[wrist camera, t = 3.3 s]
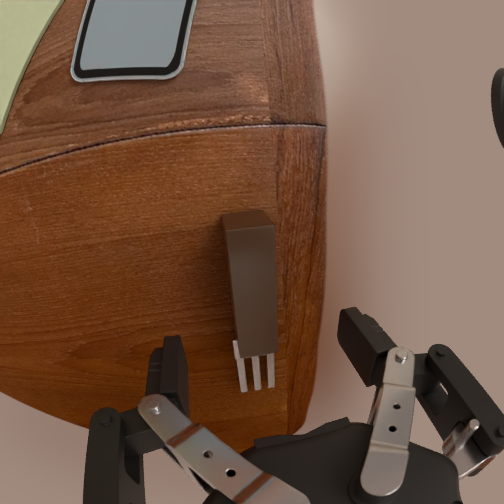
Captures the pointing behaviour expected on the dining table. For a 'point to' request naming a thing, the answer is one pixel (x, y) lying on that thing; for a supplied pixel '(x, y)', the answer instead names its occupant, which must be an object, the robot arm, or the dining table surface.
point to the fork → (252, 292)
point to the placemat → (20, 43)
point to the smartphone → (132, 40)
